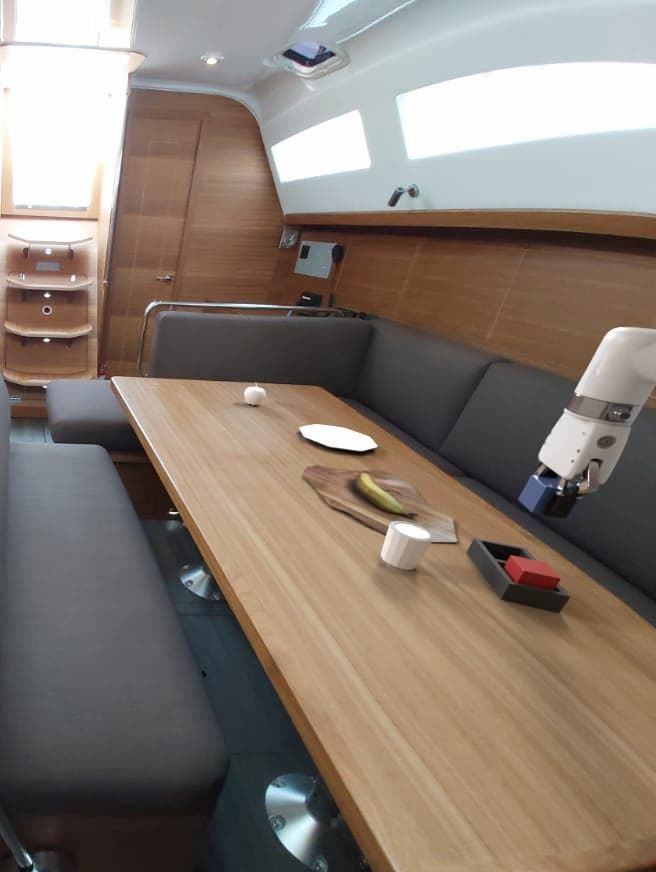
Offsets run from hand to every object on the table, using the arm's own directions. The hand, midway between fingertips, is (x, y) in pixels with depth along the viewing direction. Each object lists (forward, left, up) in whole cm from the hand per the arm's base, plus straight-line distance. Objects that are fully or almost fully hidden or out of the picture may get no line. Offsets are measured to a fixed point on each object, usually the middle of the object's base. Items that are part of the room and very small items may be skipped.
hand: (544, 507), depth 86 cm
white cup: (+17, +3, -15) cm, 23 cm away
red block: (-1, +5, -14) cm, 15 cm away
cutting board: (+15, -24, -15) cm, 33 cm away
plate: (+18, -63, -15) cm, 68 cm away
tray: (-1, +1, -15) cm, 15 cm away
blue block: (0, 0, 0) cm, 0 cm away
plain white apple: (+41, -90, -15) cm, 101 cm away
